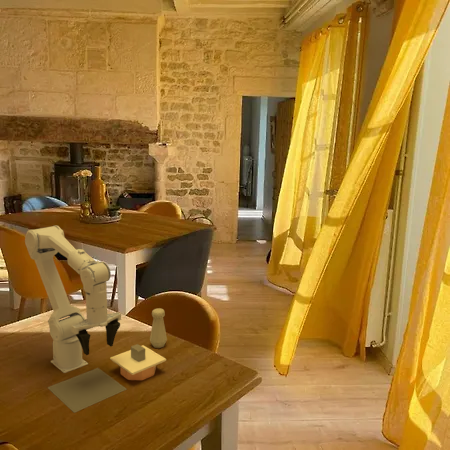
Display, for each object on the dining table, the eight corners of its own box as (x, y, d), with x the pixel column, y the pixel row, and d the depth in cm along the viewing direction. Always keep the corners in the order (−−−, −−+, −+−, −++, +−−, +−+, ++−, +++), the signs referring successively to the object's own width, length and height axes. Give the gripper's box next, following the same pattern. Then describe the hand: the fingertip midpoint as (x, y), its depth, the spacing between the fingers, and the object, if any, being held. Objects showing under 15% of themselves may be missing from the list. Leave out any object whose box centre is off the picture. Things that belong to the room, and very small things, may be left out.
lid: (110, 359, 138) (109, 346, 137) (143, 346, 146) (143, 335, 145) (132, 375, 130) (132, 361, 129) (166, 360, 138) (166, 348, 137)
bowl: (115, 371, 139) (114, 359, 138) (142, 360, 146) (142, 349, 145) (134, 385, 132) (133, 372, 131) (161, 372, 139) (161, 360, 138)
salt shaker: (163, 350, 153) (163, 314, 150) (147, 348, 154) (147, 312, 151) (169, 342, 158) (169, 307, 155) (153, 340, 159) (153, 305, 157)
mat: (47, 388, 129) (47, 387, 129) (98, 368, 140) (98, 367, 140) (74, 414, 118) (74, 412, 118) (127, 390, 129) (127, 389, 129)
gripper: (79, 316, 121) (81, 362, 124) (126, 302, 131) (127, 346, 134) (67, 308, 126) (69, 353, 129) (113, 296, 136) (114, 338, 139)
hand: (98, 349), depth 132 cm, fingers open, 7 cm apart
